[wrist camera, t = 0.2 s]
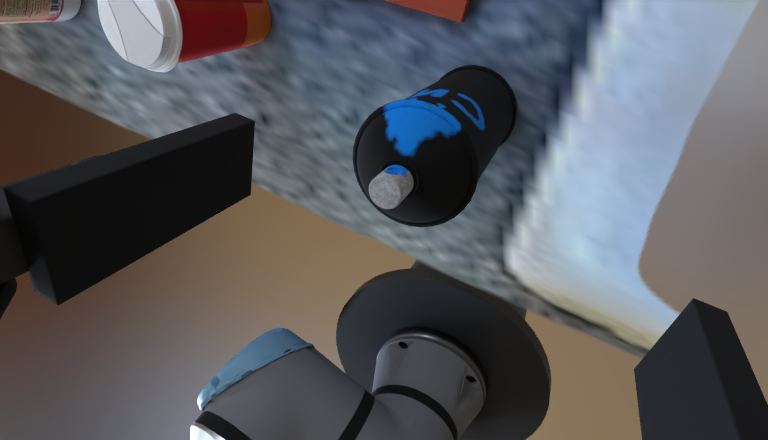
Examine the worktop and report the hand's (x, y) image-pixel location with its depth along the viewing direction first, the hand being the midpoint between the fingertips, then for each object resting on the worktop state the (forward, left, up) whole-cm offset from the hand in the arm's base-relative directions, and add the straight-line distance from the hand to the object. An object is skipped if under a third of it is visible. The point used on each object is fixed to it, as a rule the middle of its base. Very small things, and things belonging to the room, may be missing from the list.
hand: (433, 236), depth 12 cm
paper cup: (-2, +29, -29) cm, 41 cm away
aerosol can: (-4, +4, -29) cm, 30 cm away
